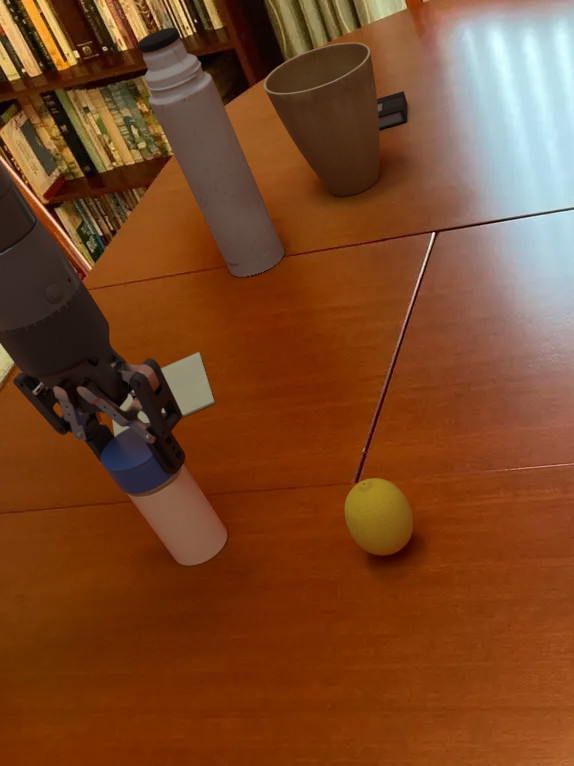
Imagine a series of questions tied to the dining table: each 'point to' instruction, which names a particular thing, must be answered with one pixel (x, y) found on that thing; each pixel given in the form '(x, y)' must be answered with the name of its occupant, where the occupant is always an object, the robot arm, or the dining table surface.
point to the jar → (182, 519)
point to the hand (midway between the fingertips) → (147, 465)
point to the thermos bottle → (209, 154)
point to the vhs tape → (392, 110)
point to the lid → (132, 463)
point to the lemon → (378, 516)
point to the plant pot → (331, 113)
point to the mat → (181, 388)
